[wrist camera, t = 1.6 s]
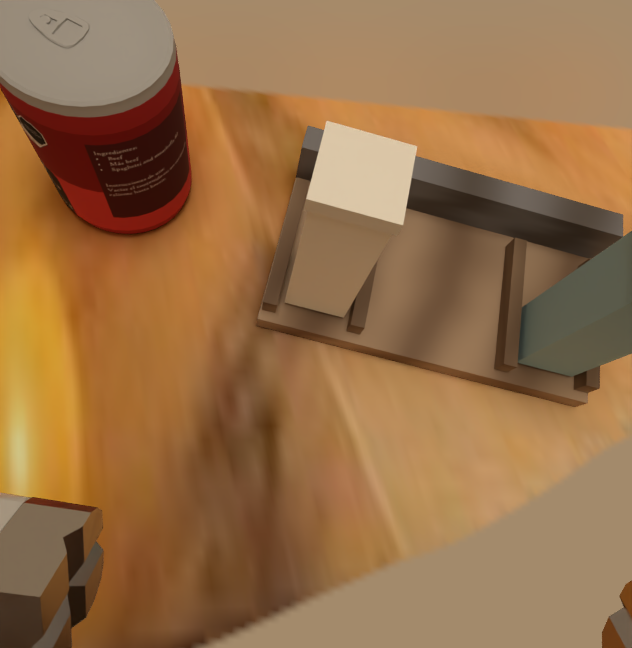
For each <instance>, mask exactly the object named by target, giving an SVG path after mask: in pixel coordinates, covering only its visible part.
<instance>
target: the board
mask: <svg viewBox="0 0 632 648" xmlns="http://www.w3.org/2000/svg"><path fill="white" fill-rule="evenodd" d="M323 133H324V130H322V129H318V128H314V127H311V126H308V127H307V131H306V134H305V138H304V141H303V145H302V149H301V155H300V160H299V165H298V170H297V175H296V180H295V183H294V187H293V191H292V194H291V198H290V202H289V205H288V209H287V213H286V216H285V220H284V223H283V227H282V231H281V234H280V238H279V242H278V245H277V249H276V253H275V256H274V260H273V263H272V267H271V271H270V274H269V278H268V282H267V285H266V289H265V293H264V296H263V300H262V303H261V307H260V311H259V314H258V318H257V325H256V326H260V327H264V328H268V329H271V330H275V331H279V332H283V333H287V334H291V335H295V336H299V337H303V338H307V339H311V340H315V341H319V342H323V343H326V344H330V345H334V346H338V347H342V348H346V349H350V350H354V351H358V352H362V353H366V354H370V355H374V356H378V357H381V358H385V359H389V360H393V361H397V362H401V363H405V364H409V365H413V366H417V367H421V368H425V369H429V370H433V371H436V372H440V373H444V374H448V375H452V376H456V377H460V378H464V379H468V380H472V381H476V382H480V383H484V384H488V385H491V386H495V387H499V388H503V389H507V390H511V391H515V392H519V393H523V394H527V395H531V396H535V397H539V398H543V399H546V400H550V401H554V402H558V403H562V404H566V405H570V406H574V407H576V406H579V405H583V404H586V403H588V392H591V391H594V390H597V389H600V366H598V367H595V368H593V369H590V370H588V371H585V372H582V373H580V374H577V375H575V376H572V377H571V376H567V375H563V374H559V373H555V372H551V371H548V370H544V369H540V368H536V367H532V366H528V365H524V364H521V363H518V352H519V339H520V326H521V313H522V307H523V306H525V305H526V304H527V303H529V302H530V301H532V300H533V299H535V298H536V297H538V296H539V295H540V294H542V293H543V292H545V291H546V290H548V289H549V288H550V287H552V286H553V285H555V284H556V283H558V282H559V281H561V280H562V279H563V278H565V277H566V276H568V275H569V274H571V273H572V272H573V271H575V270H576V269H578V268H579V267H581V266H582V265H584V264H585V263H586V262H588V261H589V260H591V259H592V258H593V257H595V256H596V255H598V254H599V253H601V252H602V251H604V250H605V249H606V248H608V247H609V246H611V245H612V244H614V243H615V242H616V241H618V240H619V239H621V238H622V237H623V215H622V214H619V213H615V212H612V211H608V210H605V209H601V208H598V207H594V206H590V205H587V204H583V203H580V202H576V201H573V200H569V199H566V198H562V197H559V196H555V195H552V194H548V193H544V192H541V191H537V190H534V189H530V188H527V187H523V186H520V185H516V184H513V183H509V182H506V181H502V180H498V179H495V178H491V177H488V176H484V175H481V174H477V173H474V172H470V171H467V170H463V169H460V168H456V167H452V166H449V165H445V164H442V163H438V162H435V161H431V160H428V159H424V158H421V157H417V156H415V161H414V167H413V172H412V178H411V184H410V189H409V195H408V201H407V206H406V212H405V217H404V223H403V226H402V228H401V230H400V231H399V233H398V235H397V236H396V235H393V234H392V235H391V237H390V239H389V241H388V242H387V244H386V246H385V248H384V249H383V251H382V253H381V254H380V256H379V258H378V260H377V261H376V263H375V265H374V266H373V268H372V270H371V272H370V273H369V275H368V277H367V278H366V280H365V282H364V284H363V285H362V287H361V289H360V291H359V292H358V294H357V296H356V297H355V299H354V301H353V303H352V304H351V306H350V308H349V309H348V311H347V313H346V315H345V316H344V318H343V317H339V316H335V315H331V314H327V313H323V312H319V311H316V310H312V309H308V308H304V307H300V306H296V305H292V304H288V303H285V298H286V294H287V290H288V286H289V282H290V278H291V274H292V270H293V266H294V262H295V258H296V254H297V250H298V246H299V242H300V238H301V234H302V230H303V226H304V222H305V219H306V215H307V211H304V206H305V202H306V198H307V194H308V190H309V187H310V183H311V179H312V175H313V171H314V167H315V164H316V160H317V156H318V152H319V148H320V144H321V141H322V137H323Z"/></svg>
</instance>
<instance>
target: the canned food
mask: <svg viewBox="0 0 632 648" xmlns="http://www.w3.org/2000/svg"><path fill="white" fill-rule="evenodd" d="M0 88H1V90H2V92H3V94H4V95H5V97H6V99H7V101H8V103H9V104H10V106H11V108H12V110H13V112H14V113H15V115H16V117H17V119H18V120H19V122H20V124H21V126H22V128H23V129H24V131H25V133H26V135H27V137H28V138H29V140H30V142H31V144H32V145H33V147H34V149H35V151H36V153H37V154H38V156H39V158H40V160H41V162H42V163H43V165H44V167H45V169H46V170H47V172H48V174H49V176H50V178H51V179H52V181H53V183H54V185H55V187H56V188H57V190H58V192H59V194H60V196H61V197H62V199H63V200H64V202H65V203H66V204H67V206H68V207H69V208H70V209H71V210H72V211H73V212H74V213H76V214H77V215H78V216H79V217H81V218H82V219H84V220H85V221H87V222H88V223H90V224H92V225H93V226H95V227H98V228H100V229H103V230H105V231H110V232H114V233H122V234H134V233H143V232H146V231H150V230H153V229H156V228H158V227H160V226H162V225H164V224H166V223H167V222H168V221H170V220H171V219H172V218H174V217H175V216H176V214H177V213H178V212H179V211H180V210H181V208H182V207H183V205H184V203H185V201H186V199H187V197H188V194H189V191H190V187H191V166H190V157H189V148H188V140H187V131H186V122H185V114H184V105H183V96H182V88H181V79H180V70H179V64H178V58H177V50H176V44H175V41H174V36H173V33H172V29H171V25H170V23H169V21H168V19H167V17H166V15H165V13H164V12H163V10H162V9H161V8H160V7H159V5H158V4H157V3H156V2H155V1H154V0H0Z"/></svg>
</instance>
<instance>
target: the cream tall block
mask: <svg viewBox="0 0 632 648" xmlns="http://www.w3.org/2000/svg"><path fill="white" fill-rule="evenodd" d="M416 150H417V146H414V145H411V144H407V143H404V142H400V141H397V140H393V139H390V138H386V137H383V136H379V135H375V134H372V133H368V132H365V131H361V130H358V129H354V128H351V127H347V126H344V125H340V124H337V123H333V122H330V121H327V122H326V125H325V129H324V133H323V137H322V141H321V144H320V148H319V152H318V156H317V160H316V164H315V167H314V171H313V175H312V179H311V183H310V187H309V190H308V194H307V198H306V202H305V206H304V211H307V215H306V219H305V222H304V226H303V230H302V234H301V238H300V242H299V246H298V250H297V254H296V258H295V262H294V266H293V270H292V274H291V278H290V282H289V286H288V290H287V294H286V298H285V303H288V304H292V305H296V306H300V307H304V308H308V309H312V310H316V311H319V312H323V313H327V314H331V315H335V316H339V317H343V318H344V316H345V315H346V313H347V311H348V309H349V308H350V306H351V304H352V303H353V301H354V299H355V297H356V296H357V294H358V292H359V291H360V289H361V287H362V285H363V284H364V282H365V280H366V278H367V277H368V275H369V273H370V272H371V270H372V268H373V266H374V265H375V263H376V261H377V260H378V258H379V256H380V254H381V253H382V251H383V249H384V248H385V246H386V244H387V242H388V241H389V239H390V237H391V235H392V234H393V235H396V236H397V235H398V233H399V231H400V230H401V228H402V226H403V223H404V217H405V212H406V206H407V201H408V195H409V189H410V184H411V178H412V172H413V167H414V161H415V156H416Z"/></svg>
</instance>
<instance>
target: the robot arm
mask: <svg viewBox="0 0 632 648" xmlns="http://www.w3.org/2000/svg"><path fill="white" fill-rule="evenodd" d="M102 529H103V518H102V510H100V509H99V508H97V507H91V506H85V505H79V504H72V503H66V502H60V501H54V500H47V499H41V498H35V497H32V498H30V497H24V496H18V495H12V494H5V493H0V648H72V639H71V628H72V627H74V626H75V625H76V624H78V623H79V622H81V621H82V620H83V619H85V618H86V617H87V614H88V612H89V610H90V608H91V606H92V604H93V602H94V599H95V596H96V593H97V590H98V587H99V583H100V580H101V576H102V569H103V549H102V548H101V547H100V545H99V544H98V543H97V542H96V540H97V538H98V536H99V534H100V532H101V531H102ZM620 599H621V601H622V604H623V606H624V608H622V609H621V610H619V611H617V612H616V613H614V614H612V615H611V616H609V618H608V620H607V622H606V625H605V627H604V629H603V631H602V648H632V581H630V582H629V583H627V584H626V585H625V587H624V589H623V590H622V592H621V594H620Z"/></svg>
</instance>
